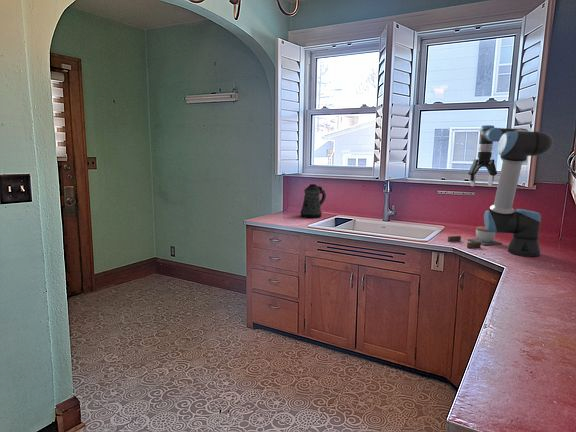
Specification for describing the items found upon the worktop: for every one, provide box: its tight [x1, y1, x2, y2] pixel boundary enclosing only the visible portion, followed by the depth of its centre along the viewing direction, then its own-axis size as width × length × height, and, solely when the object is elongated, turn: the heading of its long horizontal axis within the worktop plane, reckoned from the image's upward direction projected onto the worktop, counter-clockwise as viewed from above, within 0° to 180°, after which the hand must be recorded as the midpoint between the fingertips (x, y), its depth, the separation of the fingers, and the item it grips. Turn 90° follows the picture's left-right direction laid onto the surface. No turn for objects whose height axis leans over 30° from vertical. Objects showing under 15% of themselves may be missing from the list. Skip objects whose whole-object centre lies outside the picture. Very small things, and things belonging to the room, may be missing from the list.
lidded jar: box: [475, 225, 497, 242], centre depth 234 cm, size 11×11×9 cm
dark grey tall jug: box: [300, 183, 327, 219], centre depth 308 cm, size 16×19×25 cm
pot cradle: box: [447, 235, 482, 250], centre depth 229 cm, size 17×8×3 cm, turn 18°
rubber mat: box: [467, 237, 503, 247], centre depth 235 cm, size 13×13×1 cm
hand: (481, 186), depth 246 cm, fingers open, 13 cm apart
